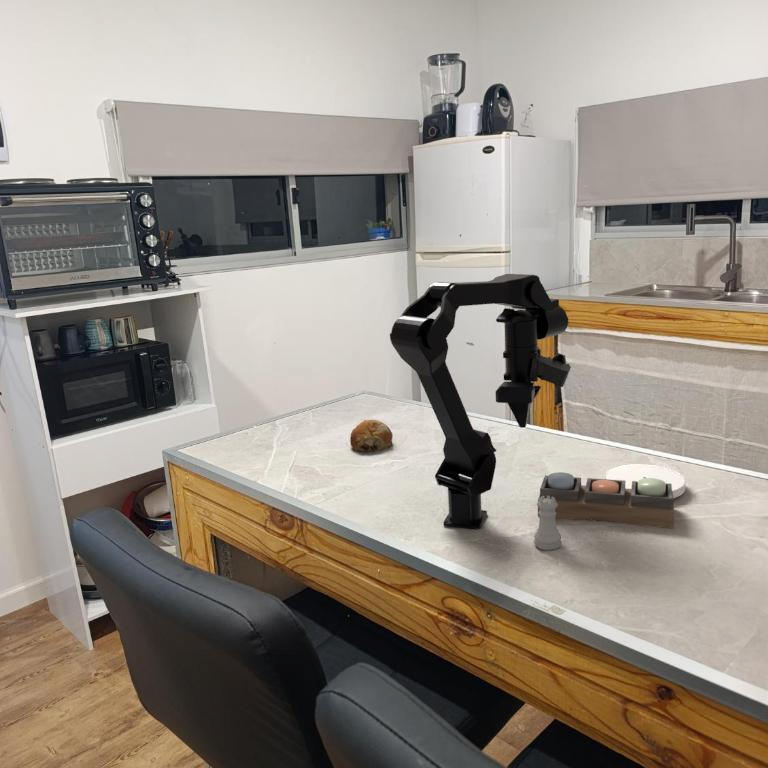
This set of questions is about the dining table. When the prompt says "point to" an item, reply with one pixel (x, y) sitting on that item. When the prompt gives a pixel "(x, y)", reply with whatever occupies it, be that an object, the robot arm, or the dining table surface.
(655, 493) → the sage button
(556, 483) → the slate-blue button
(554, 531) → the rook chess piece
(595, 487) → the terracotta button
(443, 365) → the robot arm
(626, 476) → the plastic lid
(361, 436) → the bread roll
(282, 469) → the dining table surface
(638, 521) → the button panel
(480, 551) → the dining table surface
